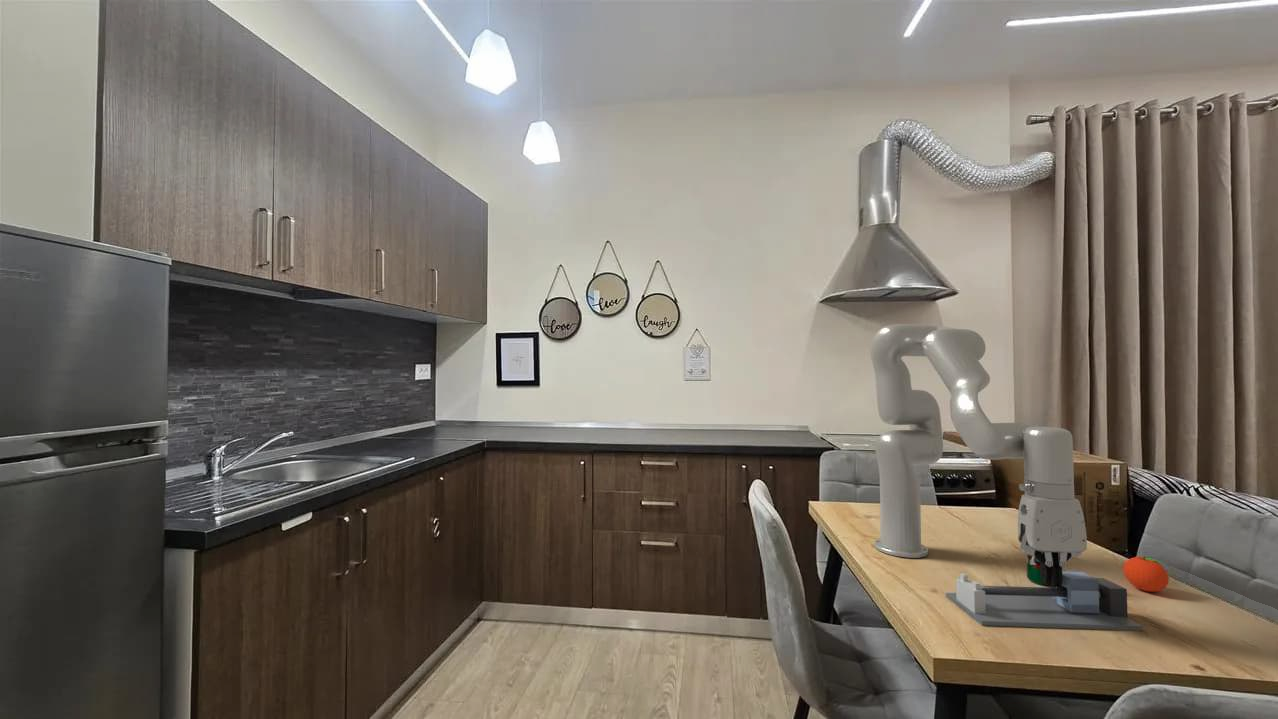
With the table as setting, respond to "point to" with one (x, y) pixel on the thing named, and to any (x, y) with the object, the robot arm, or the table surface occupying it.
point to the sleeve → (1079, 592)
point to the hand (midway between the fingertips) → (1051, 584)
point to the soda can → (1034, 570)
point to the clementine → (1146, 574)
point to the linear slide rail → (1040, 606)
